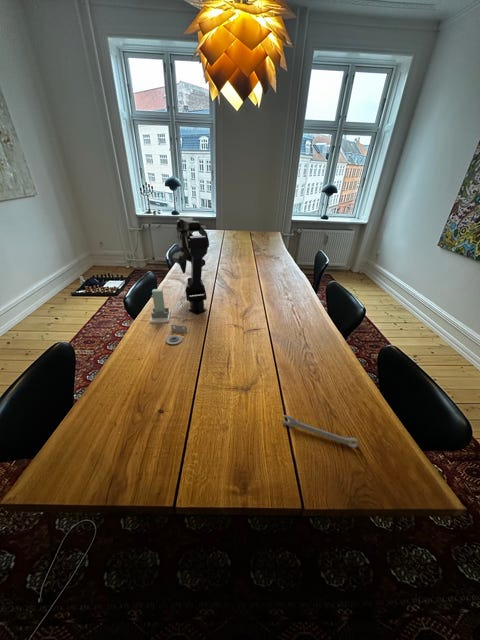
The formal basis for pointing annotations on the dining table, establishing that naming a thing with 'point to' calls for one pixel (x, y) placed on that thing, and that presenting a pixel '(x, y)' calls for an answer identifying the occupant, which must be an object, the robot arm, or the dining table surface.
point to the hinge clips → (160, 316)
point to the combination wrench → (319, 431)
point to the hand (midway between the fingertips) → (189, 275)
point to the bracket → (177, 339)
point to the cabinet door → (158, 300)
